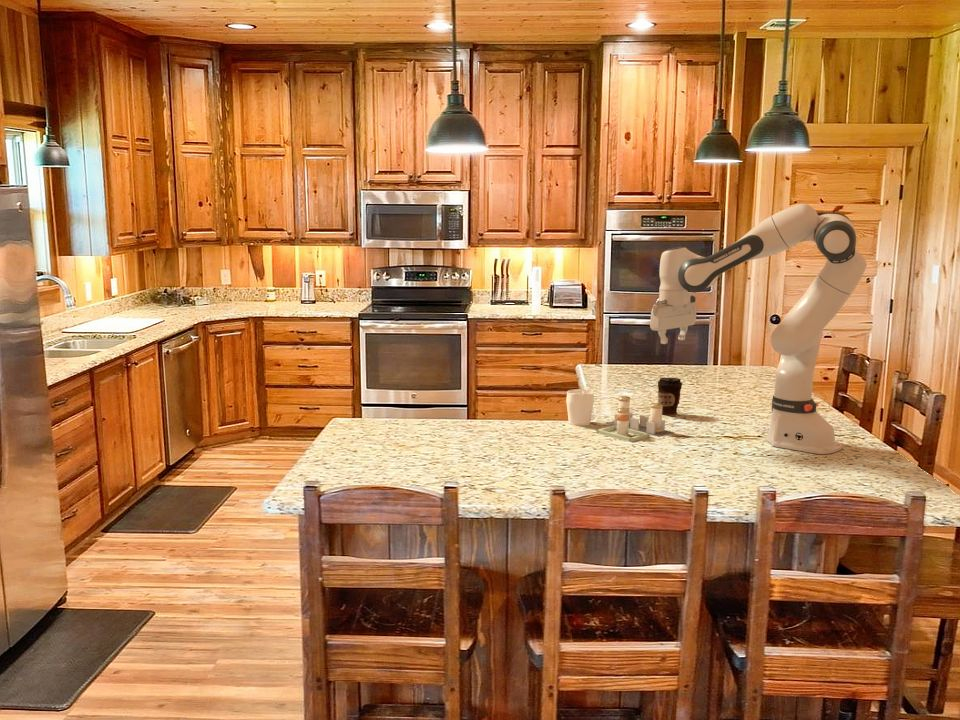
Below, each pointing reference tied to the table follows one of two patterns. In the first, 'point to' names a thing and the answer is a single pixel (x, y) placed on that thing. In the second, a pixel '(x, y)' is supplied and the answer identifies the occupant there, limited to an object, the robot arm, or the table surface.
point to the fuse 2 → (656, 416)
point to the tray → (631, 439)
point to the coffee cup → (669, 395)
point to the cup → (579, 406)
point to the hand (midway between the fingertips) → (673, 342)
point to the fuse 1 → (624, 402)
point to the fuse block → (643, 425)
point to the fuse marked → (623, 421)
